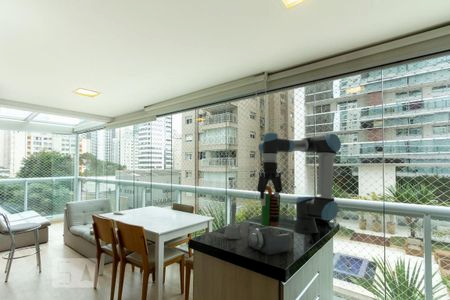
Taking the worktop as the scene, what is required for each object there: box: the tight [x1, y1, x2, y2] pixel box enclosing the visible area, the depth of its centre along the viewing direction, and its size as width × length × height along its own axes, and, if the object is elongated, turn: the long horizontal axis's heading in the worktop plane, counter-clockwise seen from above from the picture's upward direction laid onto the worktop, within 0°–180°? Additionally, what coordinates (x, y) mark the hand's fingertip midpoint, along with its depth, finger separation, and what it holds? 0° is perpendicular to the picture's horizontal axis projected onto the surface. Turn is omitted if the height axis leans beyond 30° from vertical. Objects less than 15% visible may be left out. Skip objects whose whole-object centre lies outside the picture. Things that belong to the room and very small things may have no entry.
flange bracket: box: [247, 226, 291, 256], centre depth 121 cm, size 18×16×10 cm
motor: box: [260, 185, 281, 228], centre depth 124 cm, size 10×9×20 cm
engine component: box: [224, 201, 242, 240], centre depth 142 cm, size 11×20×10 cm
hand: (269, 205), depth 123 cm, fingers closed on motor, 8 cm apart
